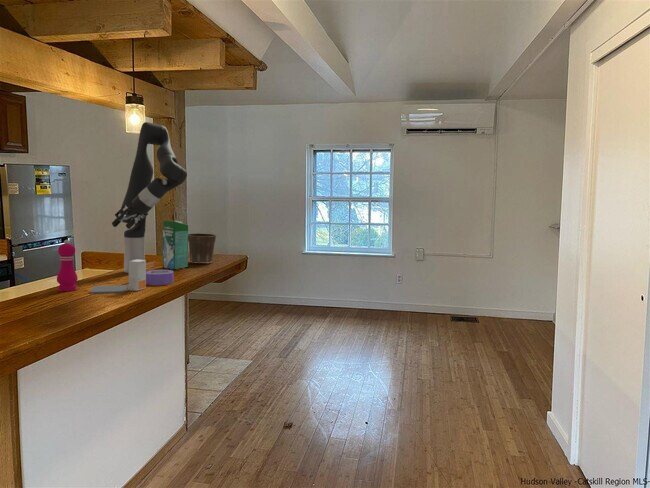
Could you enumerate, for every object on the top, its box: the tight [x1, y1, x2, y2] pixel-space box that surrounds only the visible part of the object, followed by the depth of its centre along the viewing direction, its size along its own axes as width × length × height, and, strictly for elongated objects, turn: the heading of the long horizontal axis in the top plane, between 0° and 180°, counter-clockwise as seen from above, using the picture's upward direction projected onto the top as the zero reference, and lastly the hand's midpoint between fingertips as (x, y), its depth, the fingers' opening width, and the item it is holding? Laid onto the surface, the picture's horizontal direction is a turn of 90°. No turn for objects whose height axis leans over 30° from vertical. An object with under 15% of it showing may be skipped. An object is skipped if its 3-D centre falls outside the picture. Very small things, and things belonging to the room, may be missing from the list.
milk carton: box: [162, 219, 189, 270], centre depth 246 cm, size 9×9×25 cm
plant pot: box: [188, 232, 217, 262], centre depth 267 cm, size 16×16×16 cm
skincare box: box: [128, 259, 147, 292], centre depth 191 cm, size 6×4×12 cm
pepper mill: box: [56, 239, 78, 292], centre depth 185 cm, size 7×7×20 cm
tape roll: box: [146, 269, 175, 286], centre depth 207 cm, size 12×12×5 cm
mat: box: [88, 284, 129, 294], centre depth 189 cm, size 12×13×1 cm
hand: (120, 226), depth 195 cm, fingers open, 8 cm apart
